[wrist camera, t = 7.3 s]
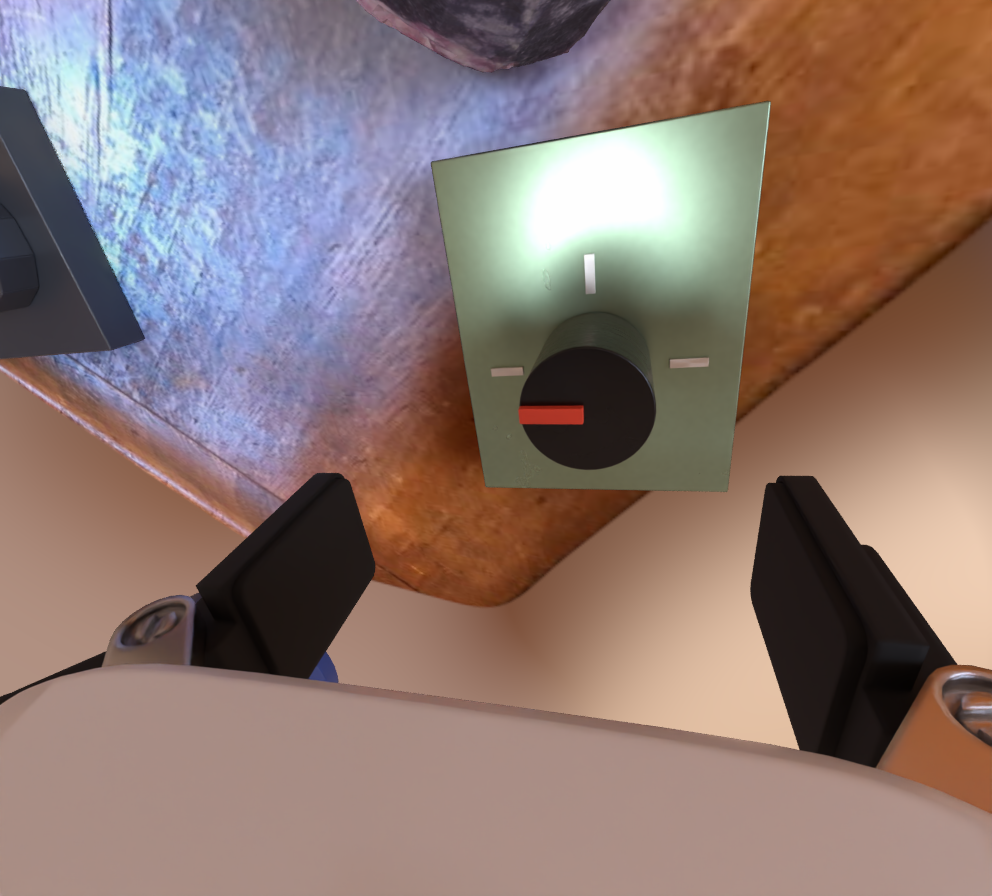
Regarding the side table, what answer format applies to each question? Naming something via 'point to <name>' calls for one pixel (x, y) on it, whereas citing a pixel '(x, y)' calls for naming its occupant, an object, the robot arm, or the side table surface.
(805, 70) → the side table surface
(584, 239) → the panel
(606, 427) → the knob
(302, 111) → the side table surface
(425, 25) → the mineral specimen
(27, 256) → the button block
